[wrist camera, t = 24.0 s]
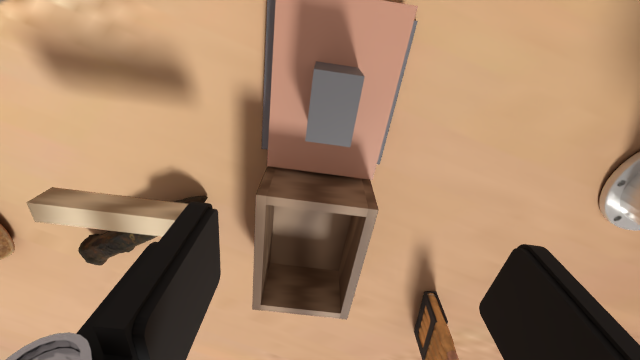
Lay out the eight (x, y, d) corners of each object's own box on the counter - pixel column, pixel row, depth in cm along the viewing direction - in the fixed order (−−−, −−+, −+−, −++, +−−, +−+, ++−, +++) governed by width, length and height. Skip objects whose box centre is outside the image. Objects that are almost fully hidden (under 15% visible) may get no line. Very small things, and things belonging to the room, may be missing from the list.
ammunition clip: (424, 290, 45) (454, 372, 34) (436, 291, 45) (469, 373, 34) (414, 332, 50) (437, 414, 40) (424, 332, 50) (450, 415, 40)
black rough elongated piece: (113, 250, 42) (90, 275, 38) (92, 231, 41) (67, 254, 37) (220, 210, 39) (208, 232, 35) (203, 186, 37) (188, 207, 33)
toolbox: (368, 172, 35) (378, 210, 28) (343, 271, 43) (347, 319, 36) (270, 159, 34) (255, 194, 27) (264, 262, 42) (252, 309, 35)
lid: (411, 7, 26) (438, 2, 20) (370, 170, 34) (379, 204, 28) (280, -14, 25) (265, -27, 19) (270, 157, 34) (257, 188, 27)
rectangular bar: (208, 206, 26) (197, 223, 24) (209, 223, 27) (199, 240, 25) (52, 187, 26) (26, 202, 24) (58, 205, 27) (35, 221, 24)
